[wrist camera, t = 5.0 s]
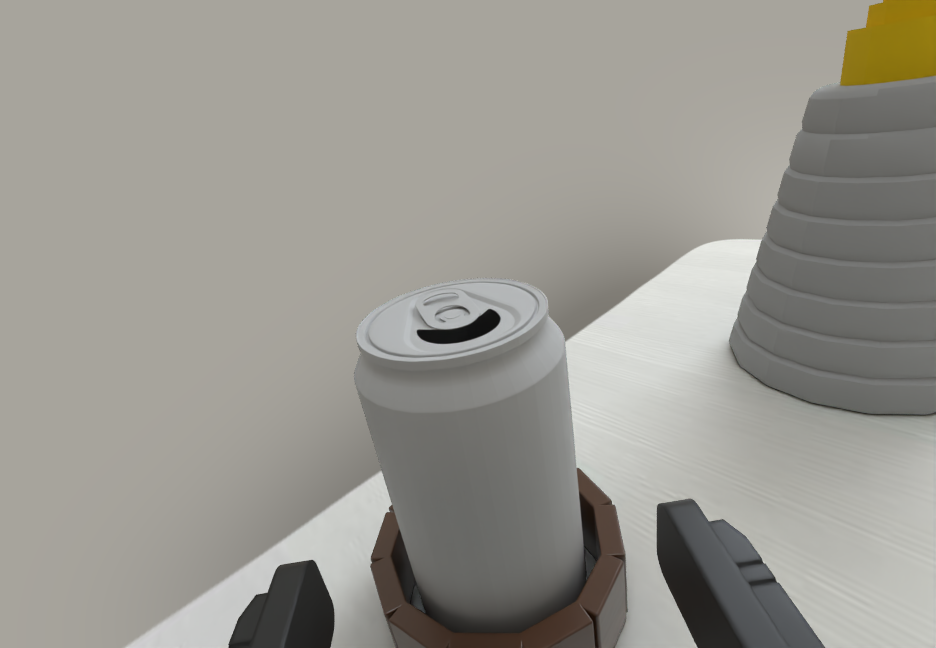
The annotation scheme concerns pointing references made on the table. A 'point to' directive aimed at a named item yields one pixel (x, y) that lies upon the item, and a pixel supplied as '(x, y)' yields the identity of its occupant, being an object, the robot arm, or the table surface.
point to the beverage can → (477, 449)
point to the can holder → (549, 641)
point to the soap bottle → (855, 233)
